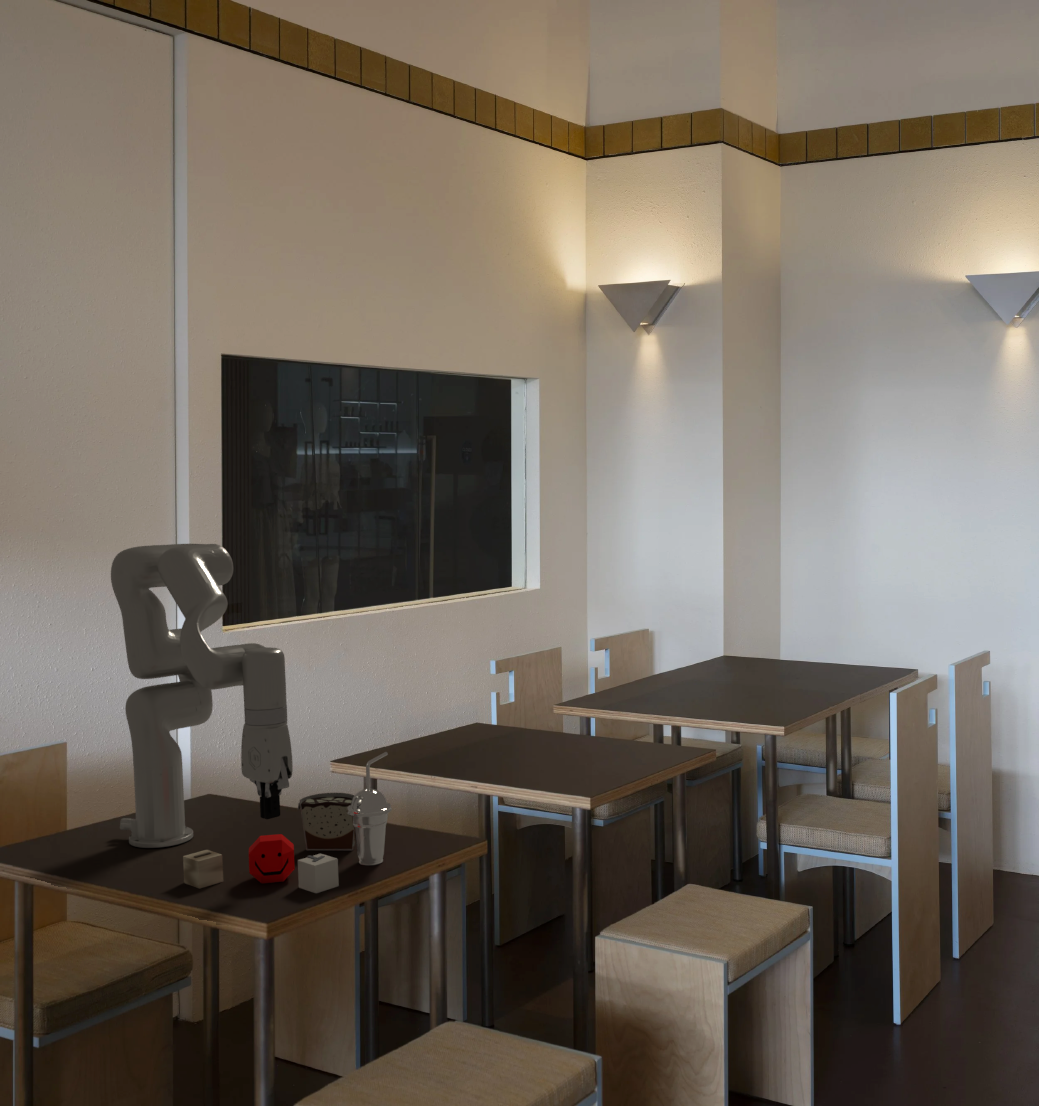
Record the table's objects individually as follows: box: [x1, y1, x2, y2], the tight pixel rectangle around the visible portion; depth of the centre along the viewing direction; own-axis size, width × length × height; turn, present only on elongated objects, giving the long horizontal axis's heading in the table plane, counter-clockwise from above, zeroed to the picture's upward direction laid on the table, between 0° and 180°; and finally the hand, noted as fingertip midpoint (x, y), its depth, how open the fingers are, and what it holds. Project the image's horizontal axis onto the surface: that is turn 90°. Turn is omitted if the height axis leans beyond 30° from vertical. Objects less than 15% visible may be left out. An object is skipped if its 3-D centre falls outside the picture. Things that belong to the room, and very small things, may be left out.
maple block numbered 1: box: [182, 849, 224, 889], centre depth 221 cm, size 5×5×5 cm
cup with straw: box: [346, 751, 393, 866], centre depth 229 cm, size 8×9×20 cm
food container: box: [297, 792, 356, 851], centre depth 241 cm, size 12×6×10 cm, turn 84°
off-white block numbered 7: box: [297, 853, 340, 894], centre depth 216 cm, size 5×5×5 cm
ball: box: [248, 833, 296, 884], centre depth 221 cm, size 8×8×8 cm
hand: (270, 817), depth 221 cm, fingers closed
